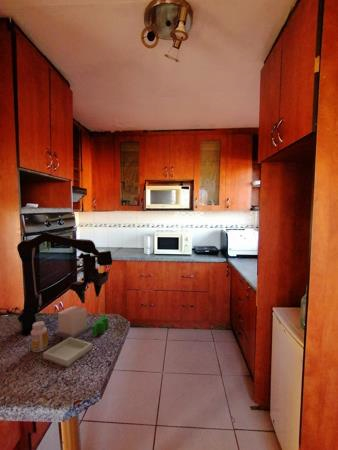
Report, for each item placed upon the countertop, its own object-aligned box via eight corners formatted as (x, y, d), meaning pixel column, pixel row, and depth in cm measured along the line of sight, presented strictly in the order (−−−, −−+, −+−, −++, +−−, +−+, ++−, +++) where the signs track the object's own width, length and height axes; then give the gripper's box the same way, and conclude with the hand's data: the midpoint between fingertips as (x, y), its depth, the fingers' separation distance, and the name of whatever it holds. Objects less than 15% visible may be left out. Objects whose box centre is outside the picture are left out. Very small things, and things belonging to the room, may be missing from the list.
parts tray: (43, 358, 86) (43, 352, 86) (70, 342, 96) (69, 337, 96) (67, 367, 81) (67, 360, 81) (92, 349, 91) (92, 343, 91)
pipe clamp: (101, 337, 100) (100, 326, 100) (92, 337, 100) (92, 326, 100) (111, 324, 111) (110, 314, 111) (103, 324, 112) (102, 314, 111)
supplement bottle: (46, 343, 96) (44, 318, 96) (49, 348, 92) (48, 323, 91) (30, 348, 93) (29, 323, 92) (33, 354, 89) (31, 328, 88)
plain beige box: (53, 334, 103) (52, 313, 102) (73, 323, 113) (73, 304, 112) (72, 339, 98) (71, 318, 98) (92, 328, 108) (91, 308, 107)
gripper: (87, 273, 102) (89, 309, 103) (115, 264, 119) (117, 295, 120) (68, 271, 107) (70, 306, 108) (98, 262, 124) (99, 293, 124)
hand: (90, 299), depth 115 cm, fingers open, 9 cm apart
